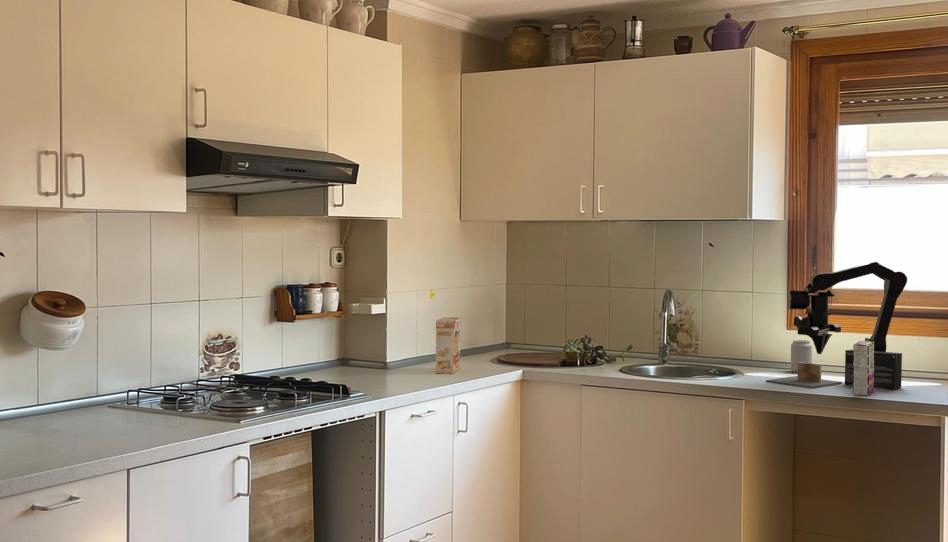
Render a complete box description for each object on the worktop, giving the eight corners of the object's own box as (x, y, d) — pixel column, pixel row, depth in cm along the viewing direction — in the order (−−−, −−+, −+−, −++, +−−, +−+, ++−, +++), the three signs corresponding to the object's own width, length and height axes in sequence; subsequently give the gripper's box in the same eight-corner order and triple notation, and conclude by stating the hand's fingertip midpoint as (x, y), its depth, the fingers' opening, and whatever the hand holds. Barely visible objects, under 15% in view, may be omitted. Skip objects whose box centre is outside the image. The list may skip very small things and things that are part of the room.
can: (793, 370, 356) (794, 338, 356) (813, 371, 352) (814, 340, 352) (788, 372, 350) (788, 340, 350) (808, 374, 346) (809, 341, 345)
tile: (821, 382, 322) (821, 364, 322) (818, 382, 321) (818, 365, 321) (800, 379, 329) (800, 362, 328) (797, 379, 328) (797, 362, 327)
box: (902, 387, 315) (902, 352, 314) (895, 390, 310) (896, 354, 309) (850, 382, 326) (851, 348, 325) (843, 384, 321) (844, 350, 320)
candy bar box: (857, 390, 309) (858, 340, 308) (874, 391, 306) (875, 341, 306) (851, 394, 299) (852, 343, 299) (868, 396, 297) (869, 344, 296)
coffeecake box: (453, 374, 339) (454, 320, 338) (434, 373, 340) (435, 320, 339) (461, 368, 354) (461, 317, 353) (442, 368, 355) (442, 316, 354)
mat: (842, 383, 323) (842, 382, 323) (812, 388, 312) (812, 386, 312) (796, 377, 337) (796, 375, 337) (766, 381, 326) (766, 380, 326)
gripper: (812, 307, 339) (812, 350, 339) (783, 309, 327) (783, 354, 328) (841, 308, 330) (841, 352, 331) (812, 311, 319) (812, 357, 319)
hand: (819, 354), depth 327 cm, fingers closed
